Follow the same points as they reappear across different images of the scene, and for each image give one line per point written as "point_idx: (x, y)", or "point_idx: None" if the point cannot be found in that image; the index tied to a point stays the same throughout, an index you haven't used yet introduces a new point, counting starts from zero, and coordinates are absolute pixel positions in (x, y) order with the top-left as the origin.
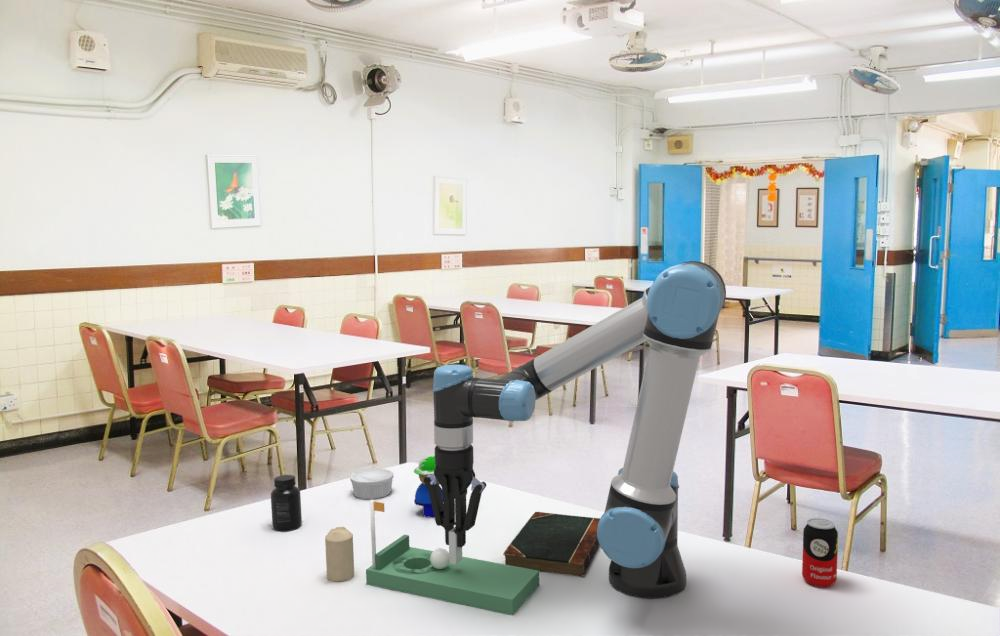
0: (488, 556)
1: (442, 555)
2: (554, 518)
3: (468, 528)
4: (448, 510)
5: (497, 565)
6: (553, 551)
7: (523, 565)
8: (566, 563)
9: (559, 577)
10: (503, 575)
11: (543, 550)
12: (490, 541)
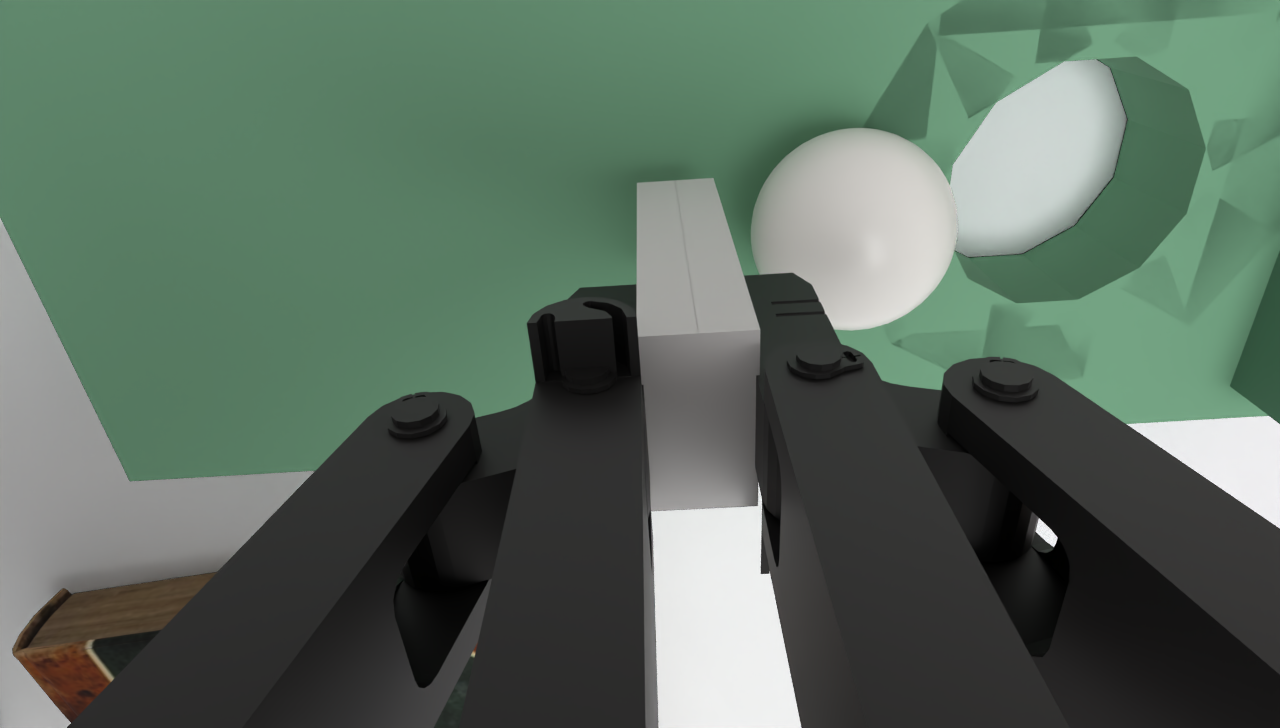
0: (690, 589)
1: (810, 205)
2: None
3: (381, 420)
4: (849, 611)
5: None
6: None
7: None
8: (120, 635)
9: (167, 542)
10: (285, 315)
11: None
12: (773, 717)
